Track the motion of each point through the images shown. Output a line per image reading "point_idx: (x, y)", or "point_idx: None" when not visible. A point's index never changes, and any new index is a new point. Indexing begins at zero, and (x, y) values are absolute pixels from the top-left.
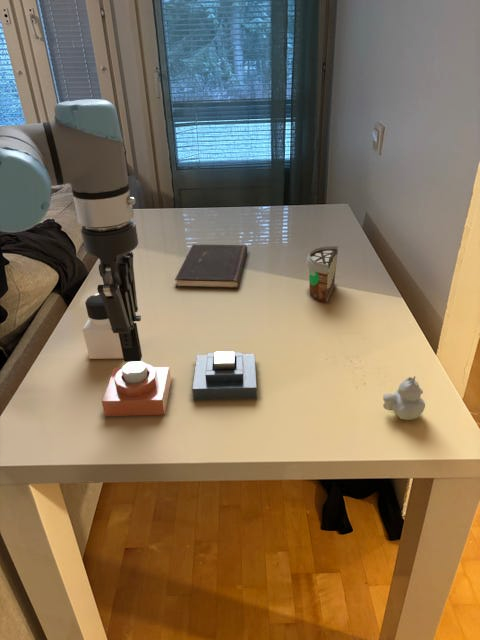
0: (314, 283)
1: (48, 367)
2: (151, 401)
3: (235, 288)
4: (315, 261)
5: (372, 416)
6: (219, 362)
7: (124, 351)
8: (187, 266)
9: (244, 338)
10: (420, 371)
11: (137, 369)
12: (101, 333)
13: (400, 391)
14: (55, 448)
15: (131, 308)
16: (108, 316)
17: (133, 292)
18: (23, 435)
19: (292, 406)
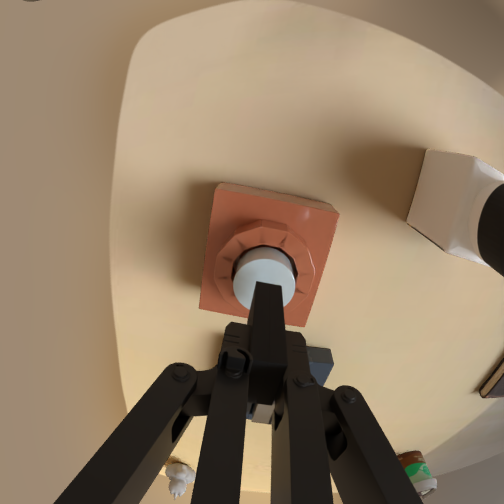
0: (405, 470)
1: (416, 64)
2: (201, 288)
3: (480, 388)
4: None
5: (181, 453)
6: (259, 408)
7: (253, 305)
8: None
9: (368, 403)
10: None
11: (252, 294)
12: (453, 201)
13: (174, 484)
14: (152, 100)
15: (272, 452)
16: (115, 432)
17: (336, 486)
18: (200, 35)
19: (201, 420)
